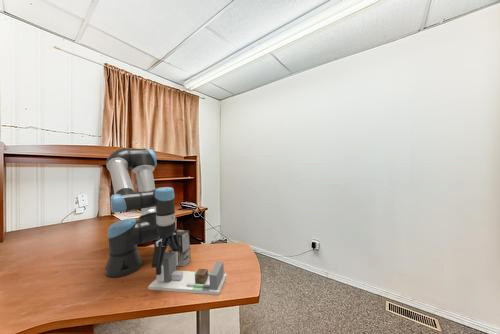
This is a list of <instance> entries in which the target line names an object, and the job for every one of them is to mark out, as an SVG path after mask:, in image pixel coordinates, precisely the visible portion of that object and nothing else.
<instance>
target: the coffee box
mask: <svg viewBox="0 0 500 334" xmlns="http://www.w3.org/2000/svg"><path fill="white" fill-rule="evenodd" d="M176 230H177V236H178V240H179V244H180V250H179V251H177V254H178V267H182V268H183V267H185V266H187V265H188V264H189V263H190V262H192V260H191V237H190V236H191V235H190V230H186V229H185V230H184V229H178V228H177V229H176ZM167 249H168V250H167V251H168V252H172V249H171V247H170V246H169V245H168V247H167Z"/></svg>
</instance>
